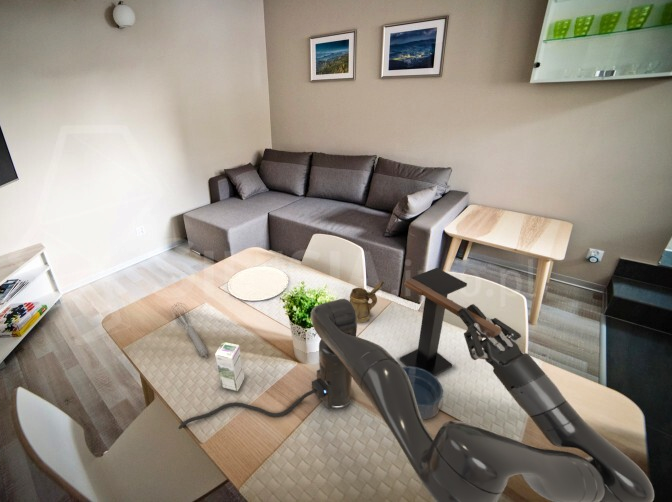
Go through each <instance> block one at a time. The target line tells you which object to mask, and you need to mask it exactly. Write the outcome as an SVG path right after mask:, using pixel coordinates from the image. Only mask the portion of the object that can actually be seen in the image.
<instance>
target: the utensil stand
mask: <svg viewBox="0 0 672 502" xmlns="http://www.w3.org/2000/svg"><path fill="white" fill-rule="evenodd" d="M411 279H414V280H416V281H418V282H420V283H422V284H423V285H425V286H427V287H429V288H431V289H432V290H433V291H435V292H437V293H439V294H441V295H442V296H444V297H446V298H448V295H449V294H452V293H455V292H457V291H459V290H461V289H463V288H466V287H467V286H468V283H467V282H465V281H464V280H462V279H460V278H457V277H456V276H453V275H452V274H450V273H448V272H446V271H445V270H442V269H440V268H438V267H435V268H432V269H429V270H426V271H424V272H421V273H419V274H416V275H414V276H411ZM445 312H446V309H445V308H443V307H442V306H440V305H438V304H437V303H435V302H433V301H432V300H430V299H428V298H427V297H425V296H424V303H423V311H422V318H421V324H420V331H419V338H418V345H417V349H414V350H412V351H411V352H409V353H407V354H405V355H402V356H400V357H399V361H400V362H401V363H402V364H403V365H404V366H405V367H407V366H412V367H418V368H421V369H424V370H426V371H428V372H430V373H431V374H432V375H434V376H435V377H437V376H439V375H441V374H442V373H444V372H446V371H448V370H450V369H452V368H453V365H454V364H452V362H450V361H449V360H448V359H446V358H445V357H444V356H442V355H441V354H440V353H438V351H439V344H440V339H441V335H442V330H443V329H442V328H443V322H444V317H445Z"/></svg>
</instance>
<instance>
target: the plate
mask: <svg viewBox="0 0 672 502" xmlns="http://www.w3.org/2000/svg"><path fill="white" fill-rule="evenodd" d="M288 285H289V277H288V275H287V273H285V272H284V271H283V270H282V269H278V268H276V267H272V266H265V265H262V266H261V265H260V266H252V267H248V268H245V269H242V270H240V271H238V272H236V273H235V274H234V275H232V277H230V279H229V280H228V283H227V289H228V292H229V293H230V294H231V296H233V297H235V298H237V299H240V300H243V301H248V302H249V301H250V302H257V301H258V302H259V301H265V300H269V299H273V298H274V297H277V296H279V295H280V294H281V293H283V292H284V291H285V290H286V289H287V287H288Z"/></svg>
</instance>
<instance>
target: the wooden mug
mask: <svg viewBox="0 0 672 502" xmlns="http://www.w3.org/2000/svg"><path fill="white" fill-rule="evenodd" d="M384 285H385V282H384V281H380V282H378V283H377V285H375V286H374V288H373V289H372V290H371V291H367V289H365V288H363V287H354V288H352V290H351V292H350V294H349V301H350V302H351V303H352V305H353V307H354V309H355V312H356V316H357V323H366V322H367V321H369V320H370V319H371V315H372V313H371V310H372V309H373V308H374V307H375V306H376V305H377V303H378V297H377V294H376V293H378V292H379V291H380V289H382V287H384ZM370 300H371V302H369V301H370Z"/></svg>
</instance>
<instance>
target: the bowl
mask: <svg viewBox="0 0 672 502" xmlns="http://www.w3.org/2000/svg"><path fill="white" fill-rule="evenodd" d="M402 367H403V369H404V370H405V372H406V373H407V375H408V377H409V380H410V382H411V385H412V388H413V391H414V394H415V398H416V401H417V405H418V408H419V411H420V415H421V417H422V420H427V419H432V418H434V417H435V416H437V415H438V413H439V412H440V411H441V407H442V402H443V397H444V389H443V385H442V383H441V382H440V381H439V379H438V378H437V376H434V375H432V374H431V373H430V372H428V371H426V370H424V369H421V368H418V367H412V366H402Z"/></svg>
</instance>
